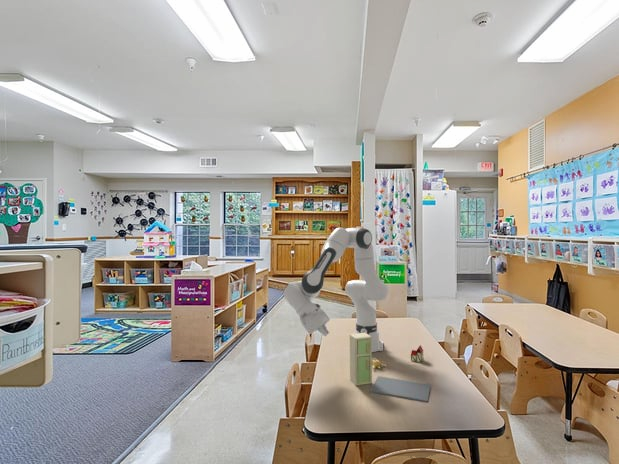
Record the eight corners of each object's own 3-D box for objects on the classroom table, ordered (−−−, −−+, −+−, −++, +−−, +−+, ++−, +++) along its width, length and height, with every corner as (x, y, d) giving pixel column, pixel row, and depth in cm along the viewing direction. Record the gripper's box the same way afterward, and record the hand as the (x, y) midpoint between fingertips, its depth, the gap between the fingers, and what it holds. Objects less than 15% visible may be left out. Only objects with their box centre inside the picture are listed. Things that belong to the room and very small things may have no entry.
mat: (378, 377, 163) (378, 376, 163) (430, 385, 154) (430, 384, 154) (369, 391, 149) (369, 390, 149) (427, 402, 140) (427, 400, 140)
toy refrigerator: (356, 386, 154) (355, 338, 154) (349, 379, 161) (349, 333, 161) (372, 384, 156) (372, 337, 156) (365, 377, 163) (365, 332, 163)
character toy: (374, 364, 170) (366, 359, 178) (374, 371, 170) (366, 365, 178) (388, 362, 173) (380, 357, 180) (388, 369, 173) (380, 363, 180)
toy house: (424, 363, 181) (424, 347, 181) (411, 362, 182) (410, 347, 182) (423, 359, 187) (423, 344, 187) (410, 358, 188) (410, 343, 188)
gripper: (303, 312, 158) (323, 336, 154) (320, 303, 177) (338, 325, 173) (294, 321, 160) (314, 345, 156) (312, 311, 179) (330, 333, 175)
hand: (327, 334), depth 165 cm, fingers closed
